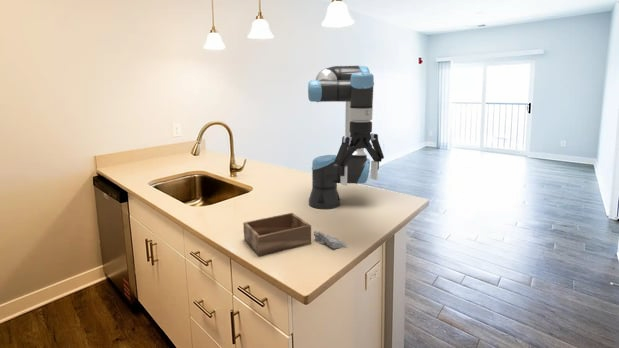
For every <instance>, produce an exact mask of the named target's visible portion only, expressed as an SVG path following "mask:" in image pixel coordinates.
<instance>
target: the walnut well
mask: <svg viewBox="0 0 619 348" xmlns="http://www.w3.org/2000/svg"><path fill="white" fill-rule="evenodd" d="M243 238H244V239H243V240H244V242H245V243H246V244H247V245H248V246H249V247H250V249H251V250H253V252H254V253H255V254H256V255H257V256H258V257H259V258H260V257H265V256H267V255H272V254H276V253H279V252H284V251H287V250H292V249H296V248H299V247H303V246H306V245H310V244H312V225H311V224H309V223H308V222H306V221H305V220H304V219H303V218H301V217H299V216H298V215H297V214H295V213H293V212H289V213H284V214H279V215H274V216H268V217H265V218H260V219H255V220H249V221H244V222H243Z"/></svg>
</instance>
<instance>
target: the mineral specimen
mask: <svg viewBox="0 0 619 348" xmlns="http://www.w3.org/2000/svg"><path fill="white" fill-rule="evenodd" d="M313 237H314V241H315V242H316V243H318V244H323V245H324V244H325V245H326V246H327V247H329V248H330V249H340V248H341V249H342V248H346V247H347V246H348V245H347V244H346V243H345V242H344V241H342V240H340V238H338V237H335V236H332V235H330V234H325V233H323V232H321V231H317V230H315V231H313Z"/></svg>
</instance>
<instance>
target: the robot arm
mask: <svg viewBox="0 0 619 348" xmlns="http://www.w3.org/2000/svg"><path fill="white" fill-rule="evenodd" d="M374 86H375V82H374V74H373V73H371V72H370V69H369V67H368V66H366V65H334V66H330V67H329V66H328V67H326V68H323V69H322V70H320V71H319V72H318V73H317V75H316V77H315V79H314V80H309V81H308V85H307V94H308V95H307V96H308V100H309V102H311V103H313V102H315V103H321V102H322V103H323V102H324V103H325V102H326V103H327V102H338V103H340V102H342V103H344V102H345V116H344V117H345V124H344V125H345V126H344V127H345V131H344V133H345V134H344V135H343V136H342V138H341V144H340V147H339V149H338V152H337V155H336V154H325V155H319V156H318V157H315V158H313V160H312V167H311V170H312V171H311V173H312V175H311V176H312V177H311V179H312V182H311V183H312V185H311V186H312V187H311V188H312V189H311V192H310V195H309V198H308V205H309V206H310V207H312V208H314V209H321V210H326V209H327V210H328V209H335V208H337V207H340V205H341V197H340V194H339V192H338V188H337V185H338V184H340V185H342V186H344V187H346V186H348V184H356V185H358V184H365V183H366V182H367V181H368V179H369V174H370V179H372V180H373V181H376V180H378V171H379V170H380V162H382V160H383V159H384V158H385V156H384V153H383V150H382V147H381V143H380V142H379V135H378V133H372V131H373V122H372V120H373V112H374V111H373V105H374V104H373V103H374V102H373V101H374ZM370 141H371V142H370ZM364 149H365V150H366V152H367V153H368V154H369V155H370V157H371V159H372V160H371V159H370V158H367V157H368V155H367V153H366V152H365V150H364Z"/></svg>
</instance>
